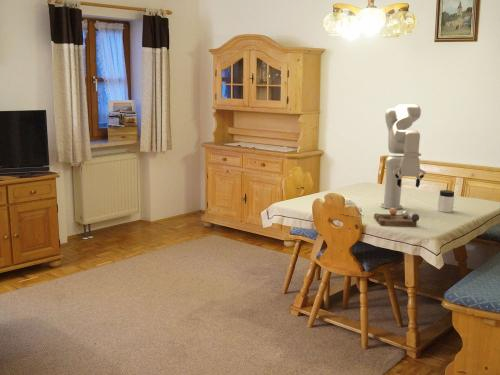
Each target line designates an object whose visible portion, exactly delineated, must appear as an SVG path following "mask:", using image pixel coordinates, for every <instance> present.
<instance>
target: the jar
mask: <svg viewBox="0 0 500 375" xmlns="http://www.w3.org/2000/svg"><path fill="white" fill-rule="evenodd" d="M437 200H438V201H437V211H438V212H441V213H449V212H451V213H452V212H454V203H455V191H453V190H449V189H448V190H447V189H442V190H439V195H438V199H437Z"/></svg>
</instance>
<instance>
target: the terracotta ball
mask: <svg viewBox="0 0 500 375" xmlns="http://www.w3.org/2000/svg"><path fill="white" fill-rule="evenodd" d="M389 214H391V215H395V214H398V209H395V208H391V209H389Z"/></svg>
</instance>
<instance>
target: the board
mask: <svg viewBox="0 0 500 375" xmlns="http://www.w3.org/2000/svg"><path fill="white" fill-rule="evenodd" d="M373 215H374V216H373V219H374V218H375V219H376V220H375V219H374V220H375V221H376V222H377V223H378V224H379V225H380V226H389V227H390V226H391V227H415V228H417V224H418V221H413V220H412V216H411V215H409V217H408V218H403V217H402V214H398V213H396V214H395V215H391V214H390V213H374V214H373Z"/></svg>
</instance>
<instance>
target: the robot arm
mask: <svg viewBox="0 0 500 375" xmlns="http://www.w3.org/2000/svg"><path fill="white" fill-rule="evenodd" d="M421 115H422V110H421V108H420V106H419V105H418V104H414V103H413V104H412V103H400V104H397V105H396V106H395V107H390V108H387V110H386V111H385V116H384V117H385V123H386V126H387V127H386V128H387V130H388V131H387V132H388V136H387V142H388V143H387V144H388V145H387V146H388V152H389V153H390V154H393V155H389V156H387V157H386V158H385V182H384V183H385V185H384V194H383V195H384V196H383V199H384V200H383V203H381V205H380V207H381V208H382V209H383V208H384V209H388V210H390V209H391V208H395V209H396V210H401V209H403V205H401V197H402V196H401V195H402V185H403V184H402V183H403V179H402V178H403V177H415V178H416V179H415V187H416V188H419V186H420V184H421V180H422V179H423V178H425V176H426V174H427V172H426V171H425V170H423V169H421V166H420V165H421V164H420V163H421V161H420V157H421V156H422V153H421V152H419V151H420V140H421V133H420V132H419V131H418V130H413V129H412V130H411V129H409V128H411V127H412V126H413V123H414V122H416V121H418V120H419V119H420V118H421ZM394 154H395V155H394ZM398 154H399V155H398ZM420 172H421V174H420Z"/></svg>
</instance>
